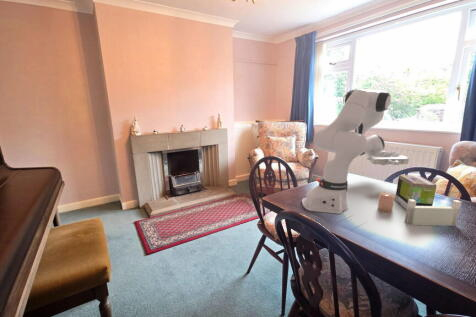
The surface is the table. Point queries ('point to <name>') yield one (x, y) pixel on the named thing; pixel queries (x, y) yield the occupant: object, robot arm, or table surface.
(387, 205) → the tan small cylinder
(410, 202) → the display rail
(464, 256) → the table surface
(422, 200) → the tea box
